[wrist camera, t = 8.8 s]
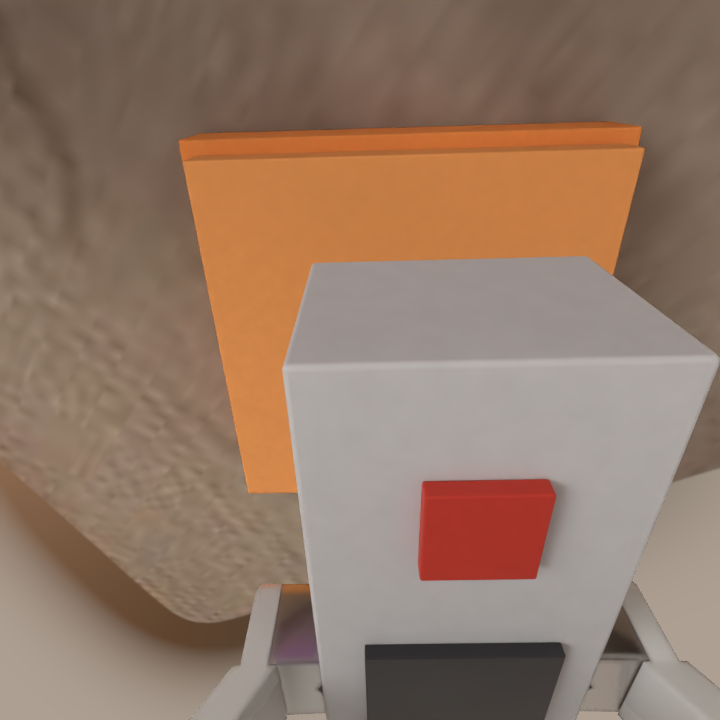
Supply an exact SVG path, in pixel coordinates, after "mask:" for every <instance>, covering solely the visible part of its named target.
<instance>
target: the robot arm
mask: <svg viewBox="0 0 720 720" xmlns="http://www.w3.org/2000/svg"><path fill="white" fill-rule="evenodd" d="M580 711H602V712H619V713H618V715H619V716H620V717H621V719H622V720H720V688H719V687H718V686H717V685H715V684H714V683H713V682H712V681H711V680H709V679H708V678H707V677H706V676H704V675H703V674H702V673H701V672H699V671H698V670H697V669H696V668H695V667H694V666H692V665H691V664H690V663H689V662H687V661H679V659H678V657H677V656H676V654H675V652H674V650H673V649H672V647H671V645H670V643H669V641H668V640H667V638H666V636H665V634H664V633H663V631H662V629H661V627H660V626H659V624H658V622H657V620H656V618H655V616H654V615H653V613H652V611H651V610H650V607H649V606H648V604H647V602H646V600H645V599H644V597H643V595H642V593H641V592H640V590H639V588H638V586H637V585H636V584H635V583H634V582H633V581H632V582H631V585H630V587H629V590H628V592H627V595H626V597H625V600H624V602H623V605H622V607H621V610H620V612H619V614H618V617H617V619H616V622H615V624H614V627H613V629H612V632H611V634H610V637H609V639H608V642H607V644H606V647H605V649H604V652H603V654H602V657H601V659H600V662H599V664H598V666H597V669H596V671H595V674H594V676H593V679H592V681H591V684H590V686H589V689H588V691H587V694H586V696H585V699H584V701H583V704H582V706H581V709H580ZM314 713H326V711H325V703H324V696H323V688H322V680H321V672H320V664H319V656H318V648H317V640H316V632H315V625H314V617H313V609H312V601H311V593H310V585H309V584H259V586H258V589H257V591H256V594H255V598H254V603H253V608H252V612H251V617H250V623H249V627H248V631H247V636H246V641H245V645H244V650H243V655H242V660H241V665H239V666H232V668H231V669H230V670H229V671H228V673H227V674H226V675H225V676H224V678H223V679H222V680H221V681H220V683H219V684H218V685H217V686H216V687H215V689H214V690H213V691H212V692H211V694H210V695H209V696H208V697H207V698H206V700H205V701H204V702H203V703H202V705H201V706H200V707H199V708H198V710H197V711H196V712H195V713H194V714H193V716H192V717H191V718H190V719H189V720H286V719H287V716H286V715H289V714H314Z"/></svg>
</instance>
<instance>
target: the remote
mask: <svg viewBox="0 0 720 720" xmlns="http://www.w3.org/2000/svg"><path fill="white" fill-rule="evenodd" d="M719 364H720V358H719V356H718V355H717V354H716V353H715V352H713V351H712V350H711V349H709V348H708V347H707V346H705V345H704V344H703V343H701V342H700V341H699V340H697V339H696V338H695V337H694V336H692V335H691V334H690V333H688V332H687V331H686V330H684V329H683V328H682V327H680V326H679V325H678V324H676V323H675V322H674V321H672V320H671V319H670V318H668V317H667V316H666V315H664V314H663V313H662V312H660V311H659V310H658V309H656V308H655V307H654V306H652V305H651V304H650V303H648V302H647V301H646V300H644V299H643V298H642V297H640V296H639V295H638V294H636V293H635V292H634V291H632V290H631V289H630V288H628V287H627V286H626V285H624V284H623V283H622V282H620V281H619V280H618V279H616V278H615V277H614V276H613V275H611V274H610V273H609V272H607V271H606V270H605V269H603V268H602V267H601V266H599V265H598V264H597V263H595V262H594V261H593V260H591V259H590V258H589V257H586V256H570V257H531V258H491V259H452V260H412V261H373V262H333V263H314V264H312V266H311V269H310V273H309V276H308V280H307V283H306V287H305V291H304V294H303V298H302V301H301V305H300V308H299V312H298V315H297V319H296V322H295V326H294V329H293V333H292V336H291V340H290V344H289V347H288V351H287V354H286V358H285V361H284V365H283V368H282V372H283V380H284V388H285V396H286V404H287V412H288V419H289V427H290V435H291V443H292V451H293V459H294V467H295V475H296V483H297V490H298V498H299V506H300V514H301V522H302V530H303V538H304V546H305V554H306V561H307V569H308V577H309V585H310V593H311V601H312V609H313V617H314V625H315V632H316V640H317V648H318V656H319V664H320V672H321V680H322V688H323V696H324V703H325V711H326V719H327V720H576V718H577V716H578V714H579V711H580V709H581V706H582V704H583V701H584V699H585V696H586V694H587V691H588V689H589V686H590V684H591V681H592V679H593V676H594V674H595V671H596V669H597V666H598V664H599V662H600V659H601V657H602V654H603V652H604V649H605V647H606V644H607V642H608V639H609V637H610V634H611V632H612V629H613V627H614V624H615V622H616V619H617V617H618V614H619V612H620V610H621V607H622V605H623V602H624V600H625V597H626V595H627V592H628V590H629V587H630V585H631V582H632V580H633V577H634V575H635V572H636V570H637V567H638V565H639V562H640V560H641V557H642V555H643V553H644V550H645V547H646V545H647V543H648V540H649V538H650V535H651V533H652V530H653V528H654V525H655V523H656V520H657V518H658V515H659V513H660V510H661V508H662V505H663V503H664V501H665V498H666V496H667V493H668V491H669V488H670V486H671V483H672V481H673V478H674V476H675V473H676V471H677V468H678V466H679V463H680V461H681V458H682V456H683V453H684V451H685V448H686V446H687V444H688V441H689V439H690V436H691V434H692V431H693V429H694V426H695V424H696V421H697V419H698V416H699V414H700V411H701V409H702V406H703V404H704V401H705V399H706V396H707V394H708V392H709V389H710V387H711V384H712V382H713V379H714V377H715V374H716V372H717V369H718V367H719Z"/></svg>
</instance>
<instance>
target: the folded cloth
mask: <svg viewBox="0 0 720 720" xmlns="http://www.w3.org/2000/svg"><path fill="white" fill-rule="evenodd" d="M641 132H642V127H640V126H635V125H628V124H622V123H615V122H609V121H606V122H572V123H538V124H504V125H470V126H436V127H402V128H368V129H333V130H299V131H265V132H231V133H201V134H197V135H194V136H191V137H188V138H185V139H182V140H179V147H180V152H181V157H182V162H183V167H184V172H185V177H186V182H187V187H188V192H189V197H190V202H191V207H192V212H193V217H194V222H195V227H196V232H197V237H198V242H199V247H200V252H201V257H202V262H203V267H204V272H205V277H206V282H207V287H208V292H209V297H210V302H211V307H212V312H213V317H214V322H215V328H216V333H217V338H218V343H219V348H220V353H221V358H222V363H223V368H224V373H225V378H226V383H227V388H228V393H229V398H230V403H231V408H232V413H233V418H234V423H235V428H236V433H237V438H238V443H239V448H240V453H241V458H242V463H243V468H244V473H245V478H246V483H247V488H248V492H249V493H298V490H297V483H296V475H295V467H294V459H293V451H292V443H291V435H290V427H289V419H288V412H287V404H286V396H285V388H284V380H283V372H282V368H283V365H284V361H285V358H286V354H287V351H288V347H289V344H290V340H291V336H292V333H293V329H294V326H295V322H296V319H297V315H298V312H299V308H300V305H301V301H302V298H303V294H304V291H305V287H306V283H307V280H308V276H309V273H310V269H311V266H312V264H314V263H333V262H373V261H412V260H452V259H491V258H531V257H570V256H586V257H589V258H590V259H591V260H593V261H594V262H595V263H597V264H598V265H599V266H601V267H602V268H603V269H605V270H606V271H607V272H609V273H610V274H611V275H613V274H614V270H615V266H616V262H617V258H618V255H619V251H620V247H621V243H622V239H623V235H624V231H625V227H626V223H627V219H628V215H629V211H630V207H631V203H632V199H633V195H634V191H635V187H636V183H637V179H638V175H639V171H640V167H641V163H642V159H643V156H644V152H645V149H644V148H643V147H638V145H639V141H640V136H641Z"/></svg>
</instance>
